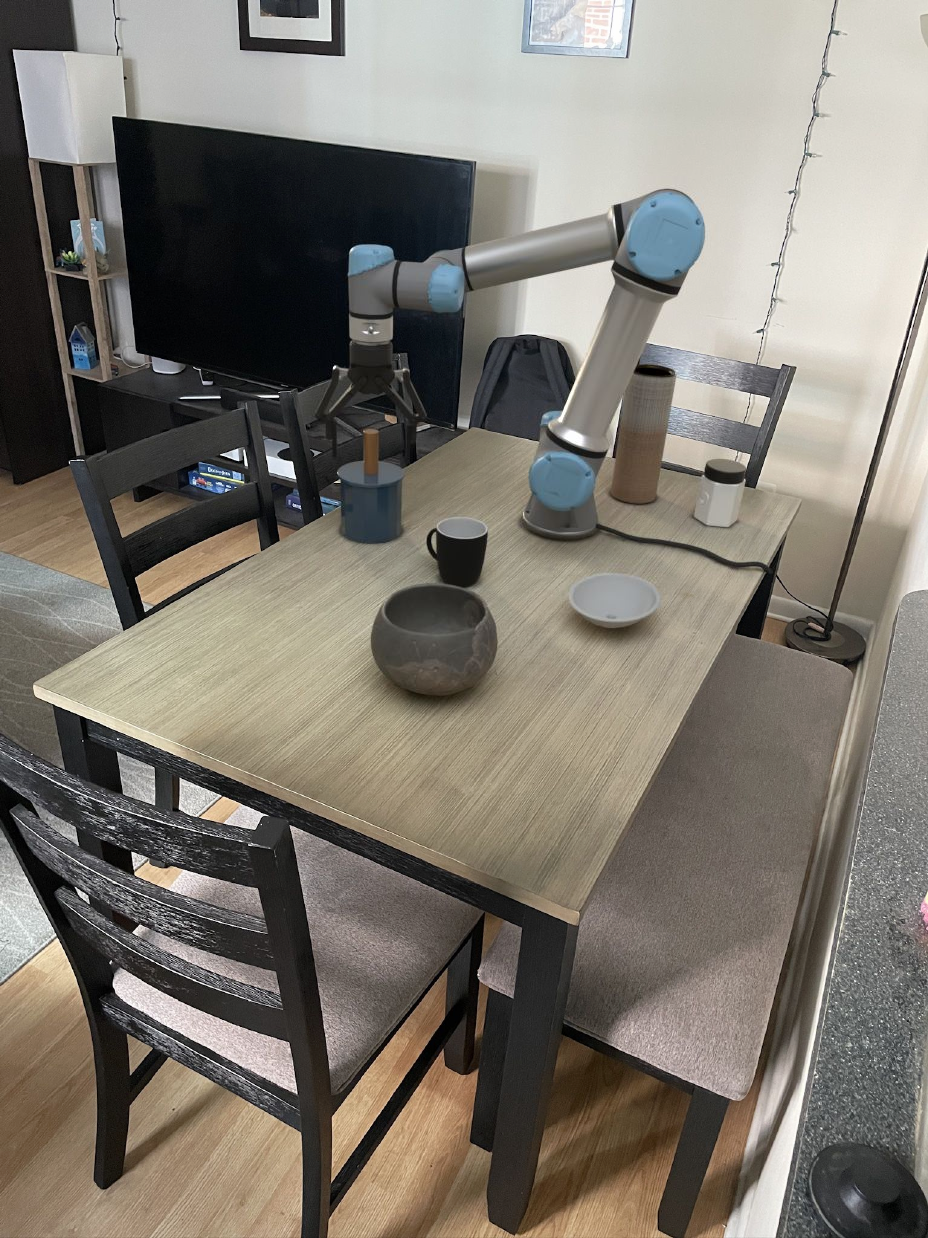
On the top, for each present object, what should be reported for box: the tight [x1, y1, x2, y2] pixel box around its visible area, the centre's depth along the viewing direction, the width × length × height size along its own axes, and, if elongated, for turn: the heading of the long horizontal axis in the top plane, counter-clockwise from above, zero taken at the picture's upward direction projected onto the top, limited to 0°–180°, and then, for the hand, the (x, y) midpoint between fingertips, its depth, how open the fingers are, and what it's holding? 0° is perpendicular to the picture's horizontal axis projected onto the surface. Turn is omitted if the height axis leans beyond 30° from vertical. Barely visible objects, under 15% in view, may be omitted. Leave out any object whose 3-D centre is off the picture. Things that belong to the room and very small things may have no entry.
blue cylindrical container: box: [339, 479, 403, 544], centre depth 172 cm, size 12×12×12 cm
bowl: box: [370, 582, 499, 696], centre depth 127 cm, size 18×18×13 cm
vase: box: [610, 363, 678, 505], centre depth 190 cm, size 10×10×28 cm
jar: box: [693, 458, 747, 528], centre depth 185 cm, size 9×8×12 cm
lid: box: [337, 428, 405, 488], centre depth 167 cm, size 13×13×9 cm
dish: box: [567, 572, 661, 629], centre depth 147 cm, size 18×14×5 cm
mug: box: [425, 516, 489, 588], centre depth 157 cm, size 12×9×10 cm
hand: (371, 456), depth 167 cm, fingers open, 13 cm apart
